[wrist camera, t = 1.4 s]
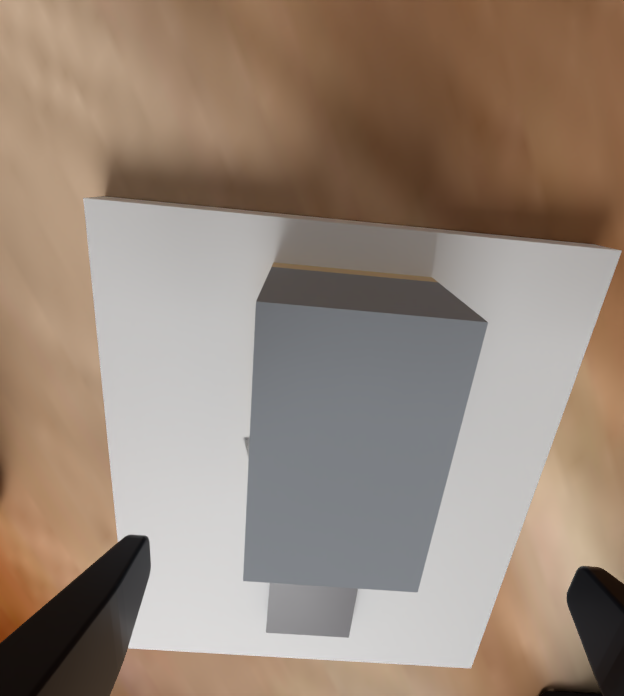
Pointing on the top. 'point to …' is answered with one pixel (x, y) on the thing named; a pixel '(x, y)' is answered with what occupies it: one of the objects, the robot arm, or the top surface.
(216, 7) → the top surface
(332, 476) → the block
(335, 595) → the graphite chip
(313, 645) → the board
